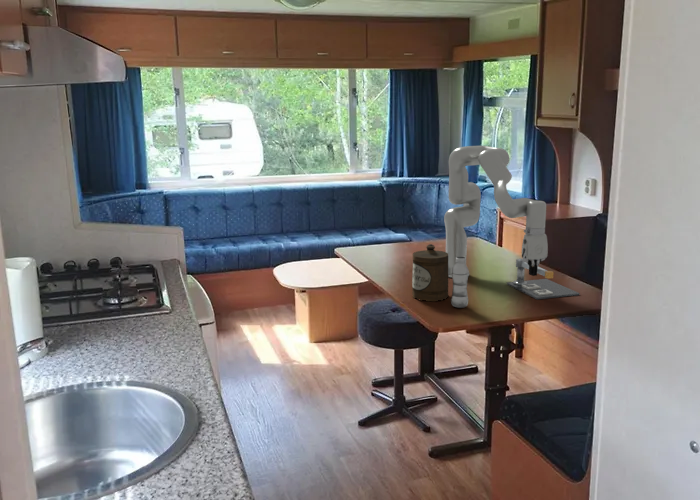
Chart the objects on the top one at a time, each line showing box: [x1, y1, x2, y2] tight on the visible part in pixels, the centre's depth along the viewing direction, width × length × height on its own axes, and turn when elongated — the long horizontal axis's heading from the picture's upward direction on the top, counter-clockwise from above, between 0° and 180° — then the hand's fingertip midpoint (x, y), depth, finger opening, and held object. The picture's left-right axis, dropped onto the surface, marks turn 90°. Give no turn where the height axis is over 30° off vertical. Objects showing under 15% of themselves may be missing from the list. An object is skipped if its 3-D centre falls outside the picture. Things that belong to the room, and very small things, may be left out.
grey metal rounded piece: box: [512, 267, 528, 285], centre depth 279 cm, size 6×6×7 cm
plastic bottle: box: [450, 256, 470, 309], centre depth 248 cm, size 6×7×20 cm
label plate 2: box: [533, 289, 553, 295], centre depth 265 cm, size 6×5×1 cm
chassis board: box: [506, 278, 581, 300], centre depth 273 cm, size 20×24×1 cm
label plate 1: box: [522, 284, 541, 289], centre depth 273 cm, size 6×5×1 cm
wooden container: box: [411, 243, 449, 302], centre depth 263 cm, size 15×15×22 cm
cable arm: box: [515, 258, 555, 280], centre depth 269 cm, size 24×4×3 cm, turn 17°
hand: (532, 274), depth 263 cm, fingers closed
